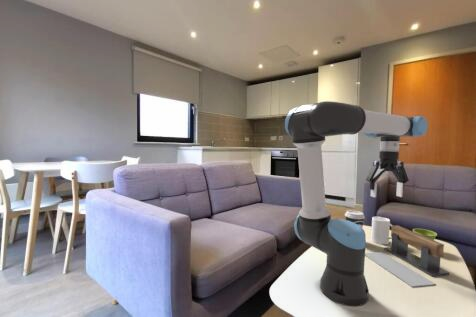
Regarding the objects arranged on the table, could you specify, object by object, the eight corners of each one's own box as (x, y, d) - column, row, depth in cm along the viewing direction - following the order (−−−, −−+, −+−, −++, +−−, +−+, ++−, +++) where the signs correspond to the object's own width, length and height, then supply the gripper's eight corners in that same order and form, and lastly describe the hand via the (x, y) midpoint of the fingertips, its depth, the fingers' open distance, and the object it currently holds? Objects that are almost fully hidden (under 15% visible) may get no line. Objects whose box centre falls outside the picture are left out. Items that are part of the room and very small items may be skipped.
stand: (431, 276, 93) (433, 252, 92) (384, 249, 116) (385, 230, 116) (449, 275, 94) (451, 251, 93) (398, 248, 118) (399, 229, 117)
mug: (399, 245, 122) (400, 222, 121) (388, 248, 118) (389, 224, 117) (377, 237, 132) (378, 215, 132) (366, 239, 129) (368, 217, 128)
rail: (435, 257, 94) (436, 244, 93) (390, 235, 115) (391, 225, 115) (443, 256, 94) (443, 244, 94) (397, 235, 116) (397, 225, 116)
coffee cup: (364, 239, 128) (365, 211, 127) (362, 245, 120) (364, 216, 119) (345, 235, 133) (346, 209, 132) (342, 241, 125) (343, 213, 124)
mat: (411, 287, 85) (411, 286, 85) (362, 253, 111) (362, 253, 111) (435, 285, 87) (435, 283, 87) (381, 252, 113) (381, 251, 113)
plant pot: (440, 254, 112) (441, 236, 112) (418, 252, 114) (419, 234, 113) (428, 246, 122) (429, 229, 121) (407, 244, 123) (408, 227, 123)
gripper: (370, 150, 104) (367, 198, 106) (420, 151, 108) (416, 198, 110) (359, 150, 112) (356, 195, 113) (406, 151, 116) (403, 194, 117)
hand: (386, 196), depth 111 cm, fingers open, 13 cm apart
